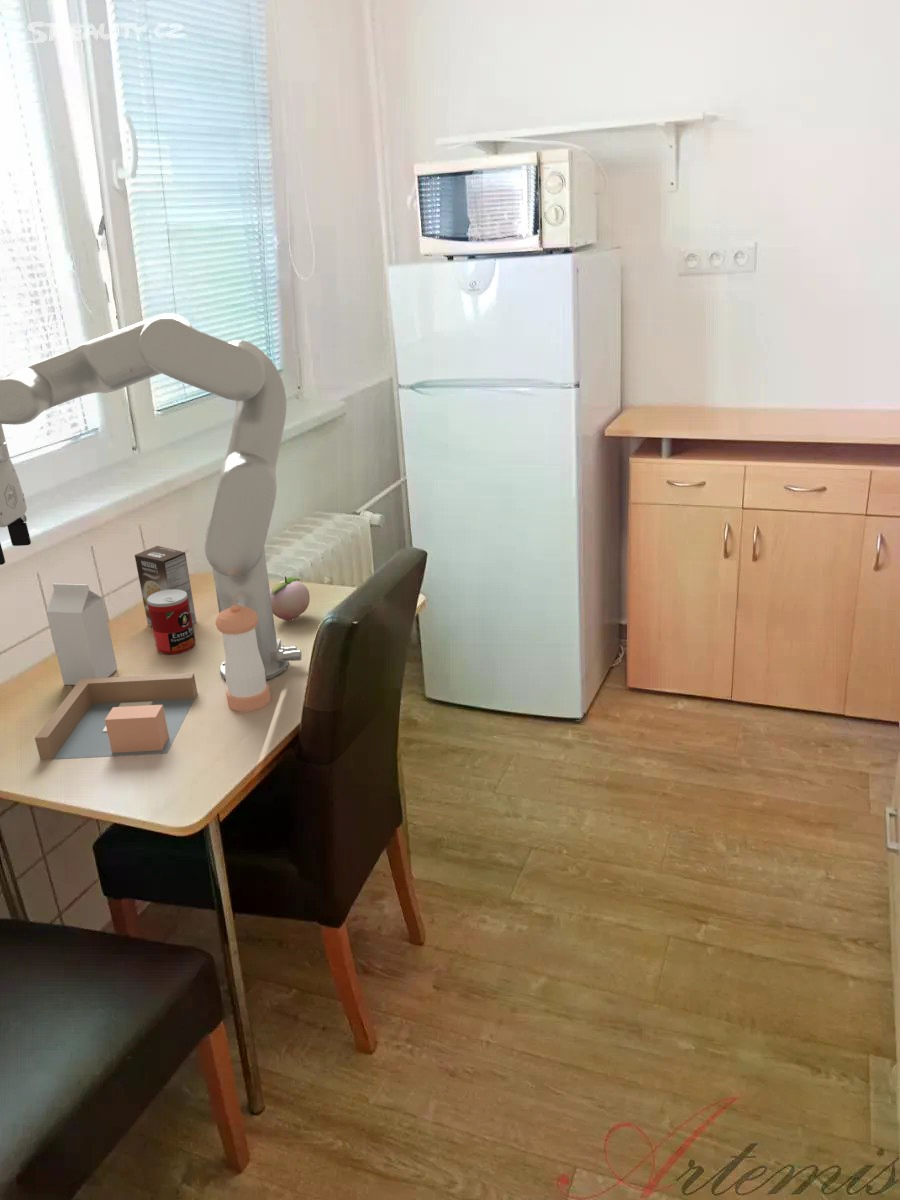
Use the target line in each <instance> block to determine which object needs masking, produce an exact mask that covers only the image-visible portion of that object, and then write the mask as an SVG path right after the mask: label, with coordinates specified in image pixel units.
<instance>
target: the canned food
mask: <svg viewBox="0 0 900 1200" xmlns="http://www.w3.org/2000/svg"><path fill="white" fill-rule="evenodd" d="M147 601H148V602H147V603H148V609H149V614H150V619H151V624H152V626H151V628H152V633H153V638H154V643H155V647H156V649H157V651H158V652H159V653H160V654H164V655H177V654H178V655H179V654H183V653H185V652H188V651H190V650H191V649H193V648H194V646H195V644H196V638H195V637H196V636H195V632H194V631H195V630H194V626H193V625H194V624H192V618H191V612H190V606H189V601H188V596H187V593H186V592H185V591H183V590H177V589H170V590H163V591H159V592H156V593H154V594H152V595H150V596H149V597H148V598H147Z"/></svg>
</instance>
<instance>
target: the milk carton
mask: <svg viewBox="0 0 900 1200" xmlns="http://www.w3.org/2000/svg"><path fill="white" fill-rule="evenodd" d="M52 587H53V590H52V591H53V592H52V594H51V596H50V600H49V602H48V605H47V609H46V611H45V612H46V616H47V620H48V623H49V628H50V632H51V637H52V641H53V644H54V650H55V654H56V656H57V661H58V665H59V668H60V675H61V679H62V682H63V684H64V685H65V686H66V685H67V686H69V685H70V686H75V685H76V684H77V683H78V682H79V680H80V679H87V678H106V677H111V676H112V674H114V673H115V672H116V671H117V670H118V665H117V660H116V659H117V658H116V655H115V651H114V645H113V642H112V637H111V631H110V627H109V622H108V617H107V613H106V608H105V604H104V599H103V597H101V596H100V595H98V594H97V593H95V592H93V591H91V590H90V587H89V584H87V583H86V584H80V583H79V584H77V583H75V584H74V583H52Z"/></svg>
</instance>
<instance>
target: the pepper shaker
mask: <svg viewBox="0 0 900 1200" xmlns="http://www.w3.org/2000/svg"><path fill="white" fill-rule="evenodd" d="M257 623H258V616H257V614H256V612H255V611H254V610H253V609H251V608H249V607H243V606H239V605H233V606H231V608H228V609H226V610H224V611H222V612H220V613H219V612H218V614H217V616H216V619H215V626H216V629H217V630H218V632H219V633H221V634H222V642H223V649H224V661H225V677H226V679H225V680H226V686H227V690H226V702H227V706H228V708H229V709H231V710H232V711H236V712H252V711H256V710H259V709H261V708H264V707H265V706H266V705H268V704H269V702H270V701H271V692H270V686H269V684H268V683H267V680H266V678H265V669H264V665H263V662H262V659H261V656H260V653H259V650H258V645H257V639H256V632H255V627H256V626H257Z"/></svg>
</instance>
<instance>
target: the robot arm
mask: <svg viewBox="0 0 900 1200" xmlns="http://www.w3.org/2000/svg"><path fill="white" fill-rule="evenodd" d="M161 374H163V375H164V376H167V377H169V378H171V379H174V380H176V381H178V382H181V383H184V384H187V385H189V386H191V387H194V388H197V389H200V390H202V391H205V392H208V393H210V394H212V395H215V396H218V397H220V398H223V399H226V400H230V401H235V412H234V418H233V422H232V427H231V428H232V429H231V434H230V438H229V443H228V446H227V451H226V454H225V458H224V460H223V463H222V465H221V468H220V471H219V477H218V483H217V489H216V494H215V499H214V504H213V507H212V513H211V517H210V519H209V521H208V524H207V527H206V532H205V540H204V541H205V542H204V553H205V554H204V555H205V557H206V560H207V562H208V563H209V565H210V566H211V568H212V573H213V574H212V575H213V581H214V588H215V594H216V600H217V605H218V606H217V607H218V614H219V613H220V612H222V611H224V610H226V609H228V608H231V606H233V605H239V606H243V607H249V608H251V609H253V610H254V611H255V612H256V614H257V616H258V623H257V626H256V627H255V632H256V639H257V645H258V650H259V653H260V656H261V659H262V662H263V665H264V669H265V678H266V681H268V680H270V679H273V678H276V677H278V676H279V675H281V674H282V673H283V672H284V671H285V670H286V669H287V668H288V665H289V661H291V662H293V661H294V662H295V661H302V650H301V649H299V650H297V646H296V645H295V646H285V645H282V642H281V641H282V640H281V639H280V638H277V634H276V626H275V621H274V614H273V611H272V604H271V597H270V590H271V589H270V582H269V575H268V569H267V568H268V567H267V566H268V565H267V558H266V552H265V551H266V550H265V545H266V539H267V535H268V532H269V527H270V524H271V520H272V515H273V512H274V507H275V503H276V499H277V498H276V496H277V477H276V476H277V475H276V470H277V465H278V464H277V462H278V458H279V453H280V450H281V445H282V440H283V439H282V438H283V433H284V428H285V423H286V417H287V416H286V415H287V395H286V394H287V393H286V389H285V385H284V382H283V379H282V377H281V374H280V372H279V370H278V368H277V367H276V365H275V364H274V362H273V361H272V360H271V358H269V357H268V355H267V354H266V353H265V352H263V350H261V349H260V348H259V347H258V346H256V345H255V344H253V343H252V342H250V341H249V342H248V341H246V340H241V339H235V340H232V341H225V340H223V339H220V338H217V337H215V336H213V335H210V334H208V333H206V332H203V331H200V330H198V329H196V328H194V327H193V326H192V324H191V323H190V322H189V320H187V319H186V318H185V317H183V316H181V315H179V314H175V313H162V314H159V315H156V316H153V317H150V318H147V319H145V320H142V321H140V322H136V323H135V324H132V325H129V326H127V327H124V328H121V329H118V330H116V331H113V332H110V333H108V334H105V335H103V336H100V337H97V338H93V339H91V340H89V341H87V342H84V343H82V344H80V345H78V346H77V347H75V348H73V349H70V350H68V351H65V352H63V353H60V354H59V353H58V354H57V355H54V356H52V357H50V358H49V357H48V358H46V359H44V360H41V361H38V362H35V363H33V364H30V365H28V366H25V367H22V368H20V369H17V370H15V371H13V372H11V373H9V374H7V375H6V376H4V377H1V378H0V528H6V527H7V530H8V534H9V537H10V538H9V539H10V543H11V545H12V546H13V547H18V546H19V547H20V546H29V545H31V544H32V542H31V541H32V540H31V536H30V533H29V528H28V525H27V520H28V518H27V516H26V513H27V509H28V507H27V502H26V500H25V494H24V492H23V489H22V485H21V482H20V479H19V476H18V474H17V472H16V469H15V466H14V464H13V462H12V460H11V456H10V453H9V448H8V444H7V441H6V437H5V433H4V428H3V425H13V426H15V425H24V424H28V423H30V422H32V421H33V420H36V418H37V417H39V416H40V415H41V414H42V413H43V412H44V411H46V410H49V409H51V408H53V407H56V406H58V405H61V404H64V403H67V402H69V401H72V400H75V399H77V398H80V397H84V396H87V395H91V394H97V393H99V394H100V393H101V394H104V393H105V394H107V393H108V394H110V393H112V392H116V391H119V390H122V389H124V388H127V387H130V386H132V385H135V384H138V383H140V382H142V381H144V380H145V381H146V380H147V379H150V378H152V377H155V376H159V375H161ZM5 563H6V559H5V554H4V551H3V547H2V544H1V542H0V566H2V565H5ZM286 667H287V668H286ZM219 672H220V676H221V677H222V678H223V679H224V680H226V677H225V660H223V661H222V662H221V664H220V666H219Z"/></svg>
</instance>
